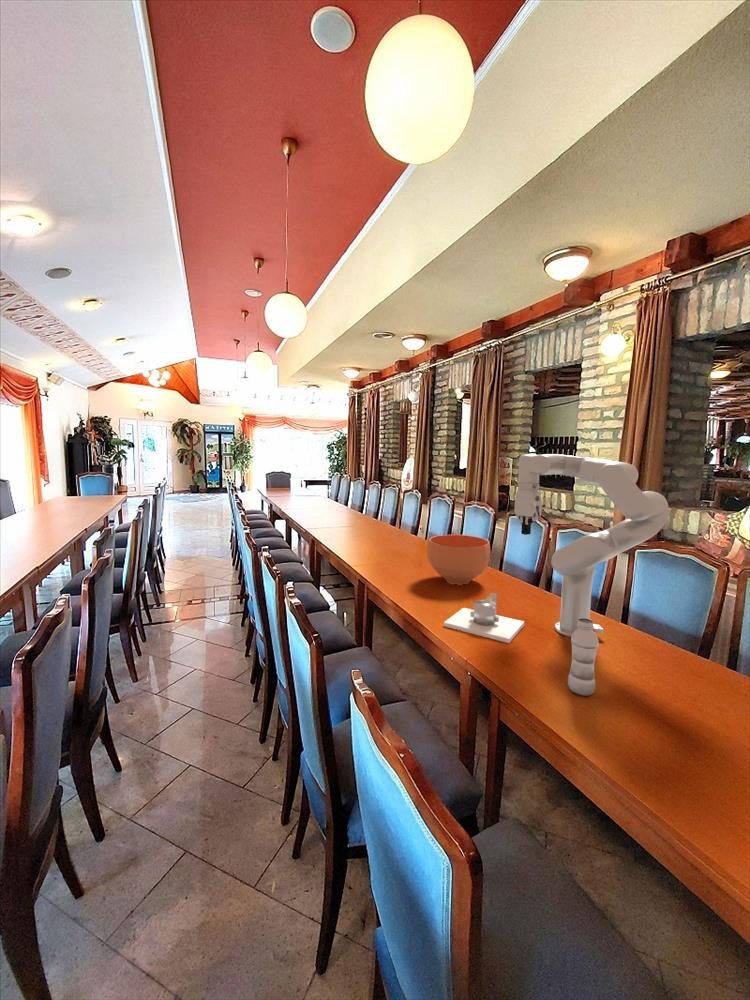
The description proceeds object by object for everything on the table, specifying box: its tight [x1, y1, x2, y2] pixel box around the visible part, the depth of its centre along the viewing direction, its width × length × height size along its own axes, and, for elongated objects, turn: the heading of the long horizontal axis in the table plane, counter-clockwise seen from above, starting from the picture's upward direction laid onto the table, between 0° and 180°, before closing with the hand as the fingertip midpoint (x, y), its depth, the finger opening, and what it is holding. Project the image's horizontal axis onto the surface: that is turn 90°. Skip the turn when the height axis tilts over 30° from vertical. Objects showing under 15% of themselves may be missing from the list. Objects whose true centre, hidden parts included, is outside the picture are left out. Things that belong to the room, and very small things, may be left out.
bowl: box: [426, 534, 492, 586], centre depth 210 cm, size 30×30×20 cm
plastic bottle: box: [567, 618, 599, 696], centre depth 114 cm, size 6×7×20 cm
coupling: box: [470, 592, 500, 626], centre depth 162 cm, size 17×10×7 cm, turn 151°
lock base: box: [443, 607, 525, 644], centre depth 158 cm, size 24×18×2 cm
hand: (525, 534), depth 167 cm, fingers closed
